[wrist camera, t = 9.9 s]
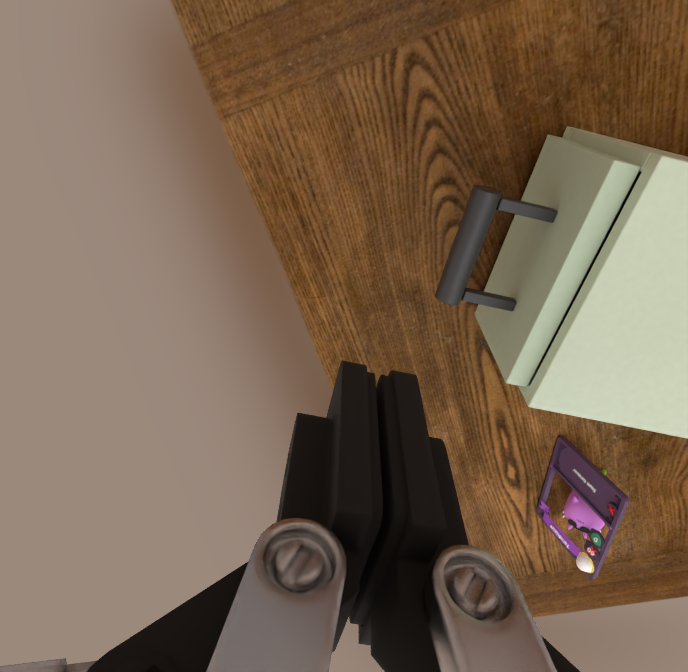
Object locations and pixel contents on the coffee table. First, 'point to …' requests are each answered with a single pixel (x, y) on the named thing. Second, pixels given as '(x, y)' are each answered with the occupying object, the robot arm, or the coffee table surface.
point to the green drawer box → (628, 308)
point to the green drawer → (538, 250)
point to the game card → (584, 505)
